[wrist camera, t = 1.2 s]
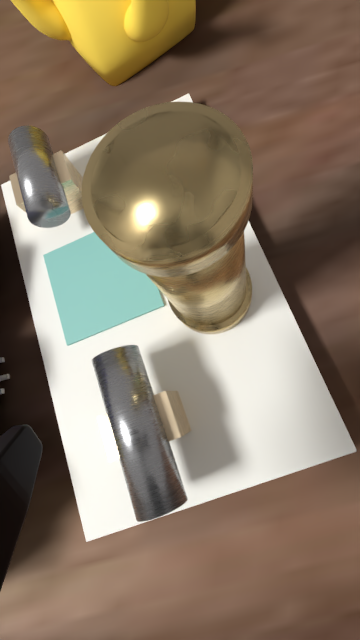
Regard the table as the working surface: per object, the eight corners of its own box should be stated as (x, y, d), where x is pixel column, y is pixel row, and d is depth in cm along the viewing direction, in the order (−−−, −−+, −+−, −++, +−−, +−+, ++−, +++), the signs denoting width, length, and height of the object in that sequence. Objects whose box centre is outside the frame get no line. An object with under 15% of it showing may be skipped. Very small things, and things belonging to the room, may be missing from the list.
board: (350, 447, 19) (358, 451, 17) (95, 533, 21) (84, 543, 19) (191, 106, 26) (188, 91, 24) (11, 193, 28) (-1, 183, 26)
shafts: (208, 480, 19) (196, 504, 15) (120, 510, 19) (85, 541, 15) (95, 150, 25) (64, 103, 21) (31, 181, 26) (-11, 141, 22)
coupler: (265, 316, 20) (283, 213, 9) (187, 346, 21) (108, 288, 9) (233, 245, 21) (213, 74, 10) (161, 275, 22) (64, 147, 10)
